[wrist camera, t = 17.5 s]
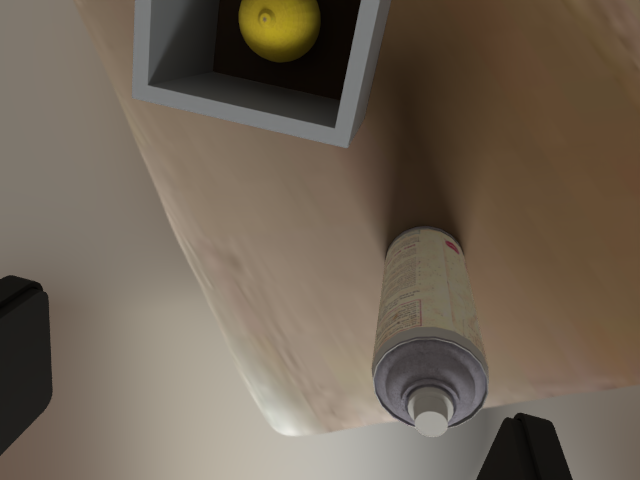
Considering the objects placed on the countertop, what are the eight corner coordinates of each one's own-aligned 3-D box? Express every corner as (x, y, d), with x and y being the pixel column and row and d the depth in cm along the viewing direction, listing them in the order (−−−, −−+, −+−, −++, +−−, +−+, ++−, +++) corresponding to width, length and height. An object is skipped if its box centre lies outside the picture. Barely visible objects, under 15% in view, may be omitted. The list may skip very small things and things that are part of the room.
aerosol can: (427, 309, 46) (436, 492, 28) (370, 264, 45) (340, 423, 27) (481, 258, 43) (529, 425, 25) (420, 210, 42) (424, 346, 24)
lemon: (257, -19, 38) (219, -31, 30) (329, -20, 37) (308, -32, 30) (259, 58, 40) (225, 65, 33) (328, 60, 39) (308, 67, 32)
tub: (402, -50, 35) (397, -81, 25) (364, 118, 40) (347, 148, 30) (214, -87, 36) (139, -130, 26) (200, 81, 41) (131, 97, 31)
